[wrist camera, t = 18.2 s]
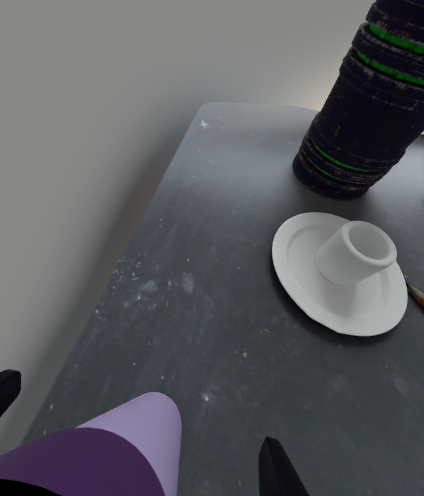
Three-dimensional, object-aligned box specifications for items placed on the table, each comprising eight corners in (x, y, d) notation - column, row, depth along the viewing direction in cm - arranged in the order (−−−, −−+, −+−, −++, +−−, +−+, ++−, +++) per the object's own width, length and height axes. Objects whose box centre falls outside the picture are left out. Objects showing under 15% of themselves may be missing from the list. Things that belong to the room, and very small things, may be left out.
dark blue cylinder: (384, 192, 26) (578, 14, 13) (324, 210, 23) (500, 5, 10) (332, 145, 30) (439, -22, 17) (277, 155, 27) (357, -35, 14)
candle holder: (320, 363, 15) (366, 360, 11) (247, 231, 20) (261, 200, 16) (428, 307, 18) (491, 290, 14) (340, 207, 23) (369, 176, 20)
